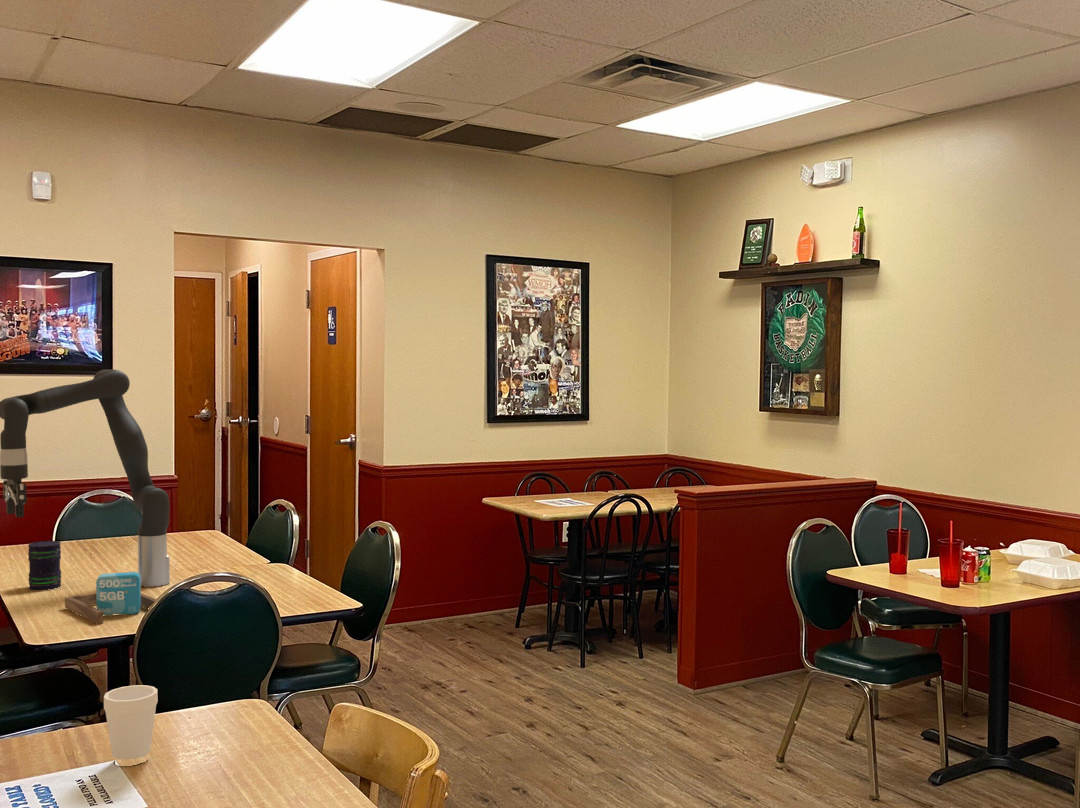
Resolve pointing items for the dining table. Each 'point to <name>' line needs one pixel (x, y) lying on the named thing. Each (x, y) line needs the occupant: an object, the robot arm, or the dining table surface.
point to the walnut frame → (84, 609)
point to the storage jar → (44, 565)
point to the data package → (118, 593)
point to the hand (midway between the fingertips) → (15, 515)
